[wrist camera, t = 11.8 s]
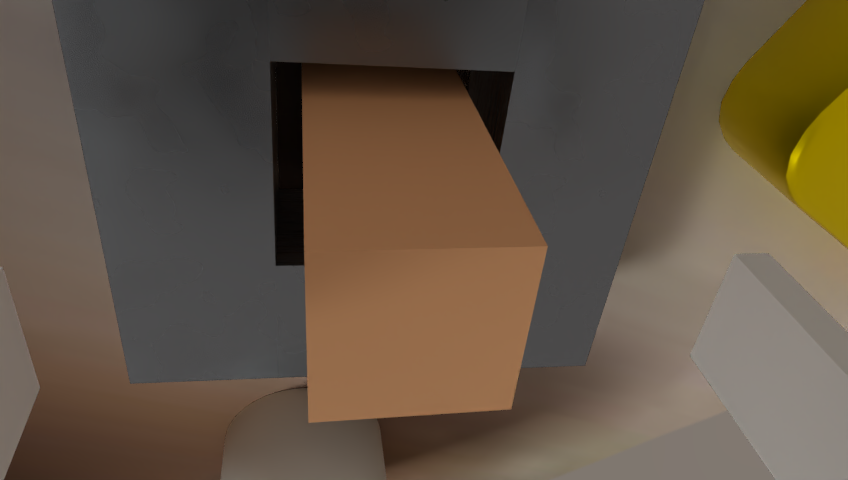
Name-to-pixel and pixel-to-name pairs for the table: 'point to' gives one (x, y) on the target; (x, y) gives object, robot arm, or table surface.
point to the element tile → (798, 113)
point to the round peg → (299, 443)
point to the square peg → (410, 248)
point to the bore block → (284, 208)
